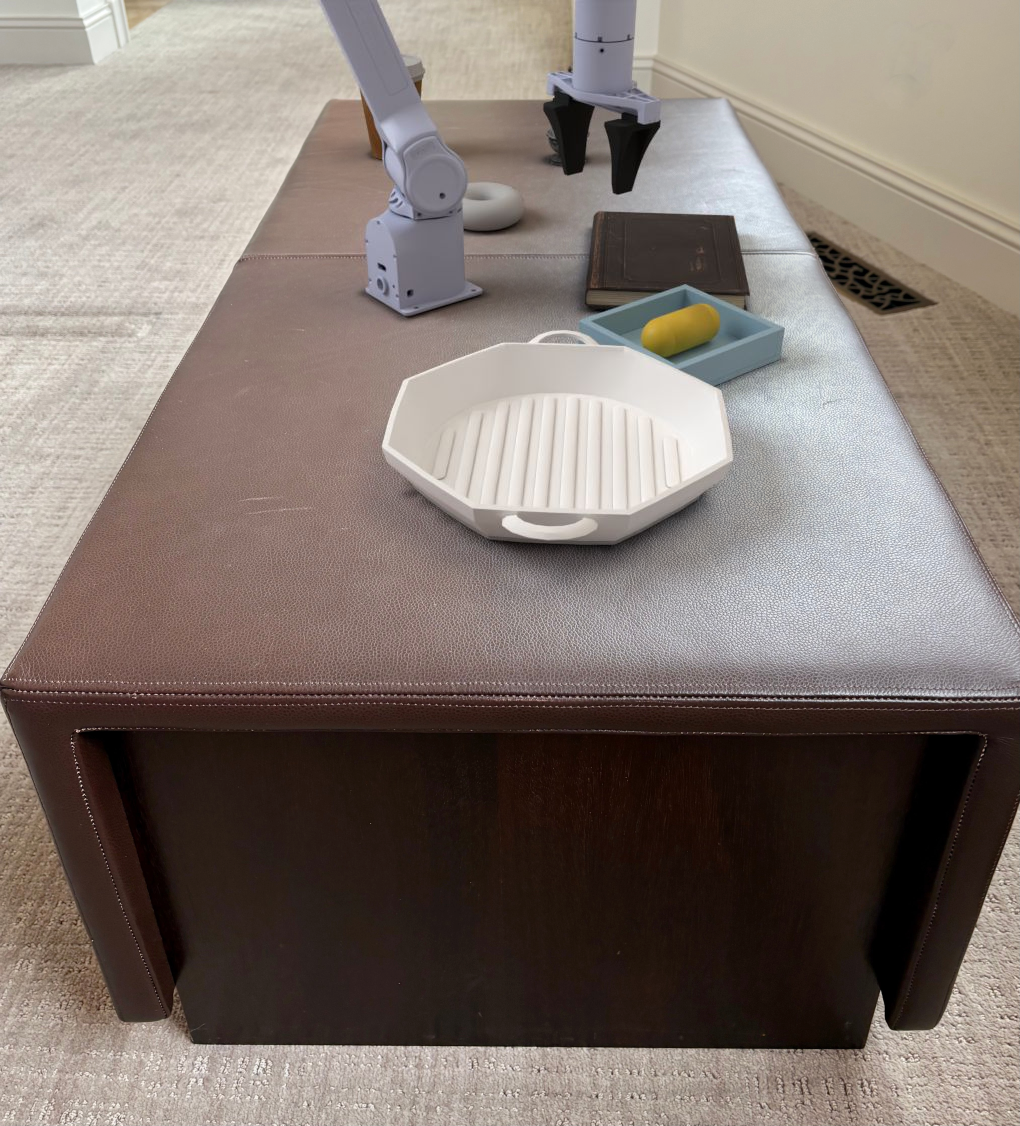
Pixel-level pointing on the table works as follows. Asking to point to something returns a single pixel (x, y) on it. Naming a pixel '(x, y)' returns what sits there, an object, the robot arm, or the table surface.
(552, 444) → the pan
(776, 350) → the tray
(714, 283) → the hardcover book
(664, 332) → the yellow rounded capsule
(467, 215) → the donut
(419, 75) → the disposable coffee cup
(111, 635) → the table surface
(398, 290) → the robot arm
